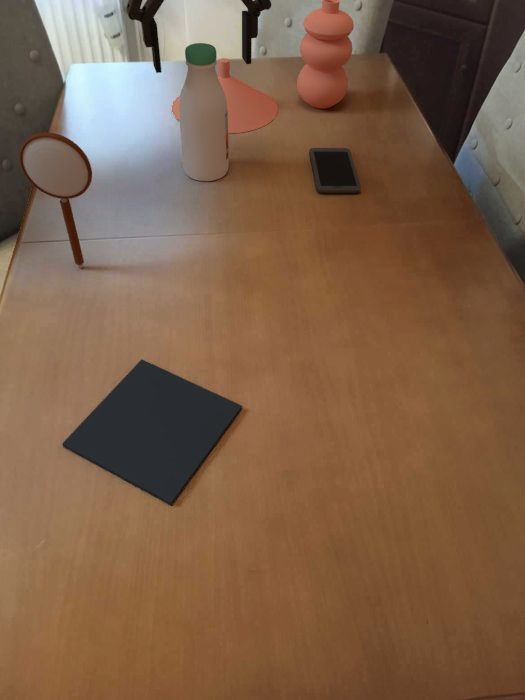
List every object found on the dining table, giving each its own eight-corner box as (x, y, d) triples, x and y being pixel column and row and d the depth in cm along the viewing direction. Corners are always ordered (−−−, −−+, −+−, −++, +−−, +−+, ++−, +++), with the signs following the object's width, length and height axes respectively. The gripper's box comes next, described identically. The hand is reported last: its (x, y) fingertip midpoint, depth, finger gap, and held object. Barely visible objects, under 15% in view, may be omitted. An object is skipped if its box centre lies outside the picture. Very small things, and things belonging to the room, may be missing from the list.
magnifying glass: (112, 266, 84) (86, 132, 70) (109, 274, 83) (82, 139, 68) (52, 261, 85) (14, 126, 70) (48, 269, 83) (8, 134, 69)
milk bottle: (223, 185, 99) (220, 60, 85) (178, 179, 100) (168, 55, 85) (232, 161, 105) (231, 40, 90) (189, 156, 105) (181, 35, 91)
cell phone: (348, 151, 108) (349, 147, 107) (361, 194, 99) (361, 190, 98) (308, 151, 108) (308, 147, 107) (317, 194, 98) (317, 190, 98)
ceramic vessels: (175, 136, 110) (166, 26, 96) (168, 86, 124) (159, -16, 110) (358, 126, 115) (374, 20, 101) (331, 80, 129) (342, -19, 115)
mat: (62, 446, 64) (61, 443, 63) (142, 362, 72) (141, 358, 72) (171, 506, 59) (171, 503, 59) (242, 408, 68) (242, 405, 67)
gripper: (94, -102, 69) (121, 83, 85) (299, -109, 74) (289, 67, 90) (88, -116, 74) (115, 62, 89) (281, -121, 79) (275, 47, 94)
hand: (202, 65), depth 90 cm, fingers open, 13 cm apart
